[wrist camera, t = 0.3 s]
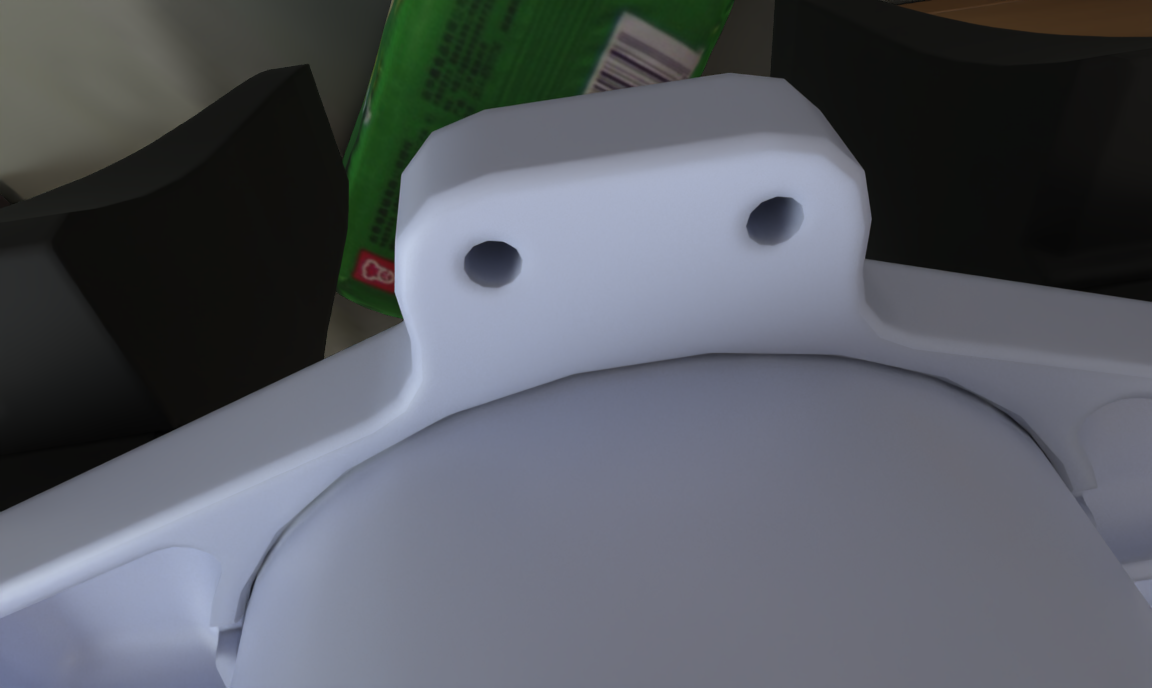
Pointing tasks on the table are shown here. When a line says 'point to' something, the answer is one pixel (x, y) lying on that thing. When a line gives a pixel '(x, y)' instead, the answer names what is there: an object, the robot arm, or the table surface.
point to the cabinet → (1050, 15)
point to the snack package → (494, 90)
